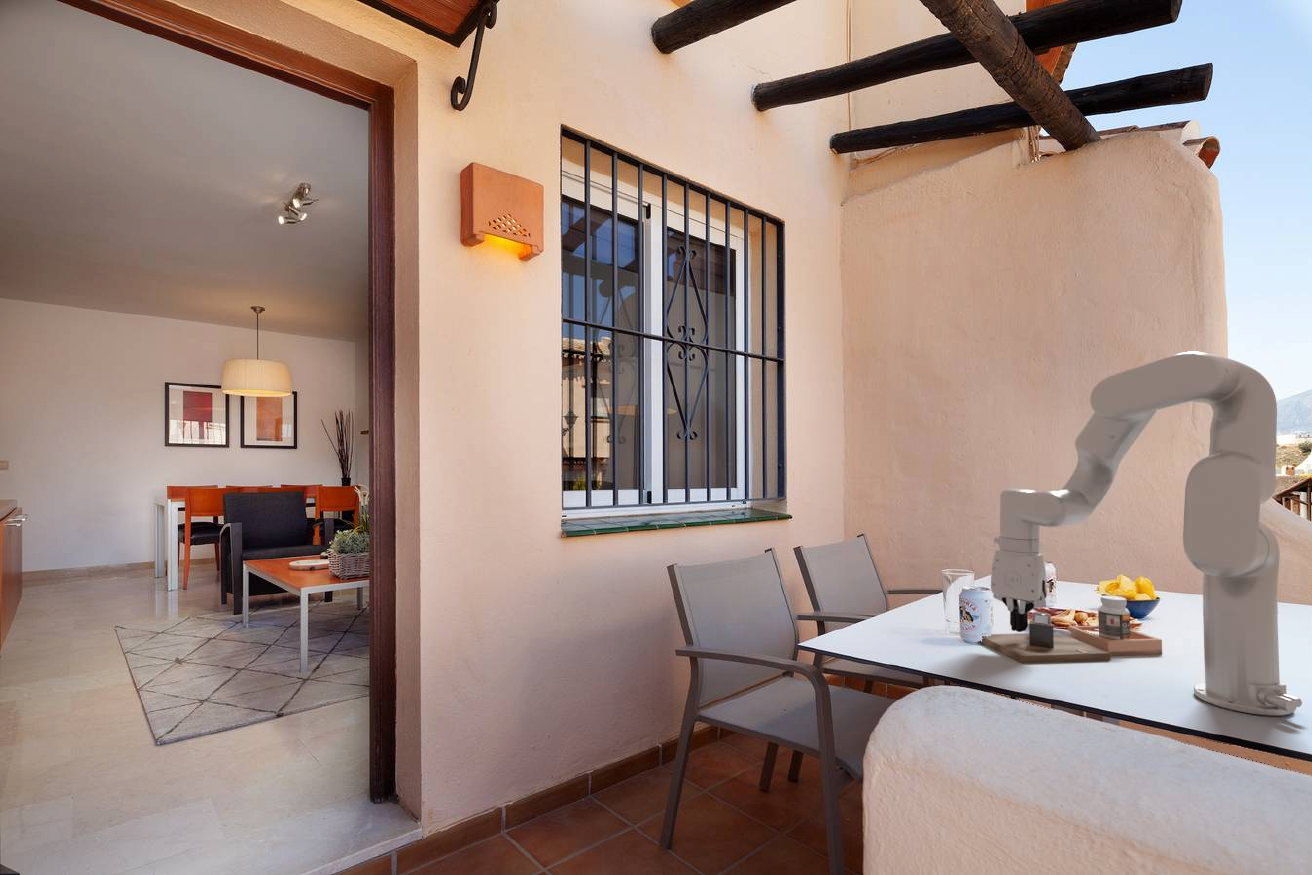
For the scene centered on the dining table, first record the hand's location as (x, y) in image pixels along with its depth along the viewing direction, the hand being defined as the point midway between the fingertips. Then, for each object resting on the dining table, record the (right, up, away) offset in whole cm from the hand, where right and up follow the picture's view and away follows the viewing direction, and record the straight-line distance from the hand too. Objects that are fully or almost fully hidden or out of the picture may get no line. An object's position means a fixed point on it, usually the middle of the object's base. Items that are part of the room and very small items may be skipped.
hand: (1018, 629), depth 141 cm
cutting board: (+4, -4, -1) cm, 6 cm away
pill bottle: (+22, -4, +1) cm, 22 cm away
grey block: (+6, -3, +2) cm, 7 cm away
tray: (+22, -4, +2) cm, 22 cm away
